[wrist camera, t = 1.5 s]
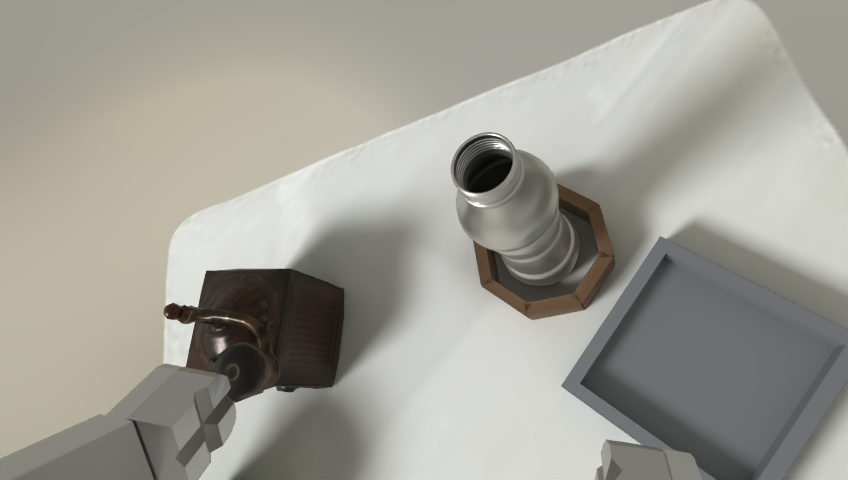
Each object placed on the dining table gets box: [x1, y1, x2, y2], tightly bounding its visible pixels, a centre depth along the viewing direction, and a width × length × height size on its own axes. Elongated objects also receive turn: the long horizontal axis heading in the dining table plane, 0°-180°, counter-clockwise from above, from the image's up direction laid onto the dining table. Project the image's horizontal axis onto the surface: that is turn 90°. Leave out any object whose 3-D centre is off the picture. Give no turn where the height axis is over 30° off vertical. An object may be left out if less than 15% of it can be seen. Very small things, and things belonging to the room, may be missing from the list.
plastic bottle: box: [451, 132, 580, 286], centre depth 34 cm, size 6×7×20 cm
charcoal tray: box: [562, 236, 848, 480], centre depth 35 cm, size 14×14×3 cm
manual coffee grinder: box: [164, 269, 344, 403], centre depth 42 cm, size 16×11×18 cm
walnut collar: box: [473, 184, 615, 320], centre depth 42 cm, size 11×11×3 cm
